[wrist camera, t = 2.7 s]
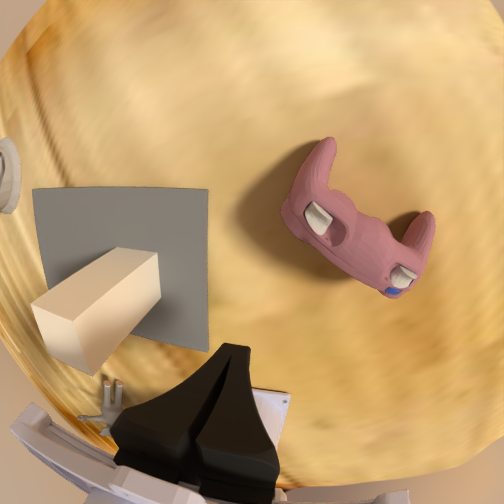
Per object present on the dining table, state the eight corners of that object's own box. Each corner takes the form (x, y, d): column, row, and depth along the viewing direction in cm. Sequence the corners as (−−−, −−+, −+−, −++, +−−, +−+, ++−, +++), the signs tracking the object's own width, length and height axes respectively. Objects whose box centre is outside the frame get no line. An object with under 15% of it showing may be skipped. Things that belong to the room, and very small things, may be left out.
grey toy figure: (158, 395, 28) (151, 444, 28) (143, 370, 33) (138, 417, 33) (77, 393, 22) (81, 445, 22) (73, 365, 27) (75, 416, 27)
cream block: (161, 297, 22) (92, 376, 13) (122, 289, 22) (50, 355, 13) (157, 252, 21) (72, 321, 11) (117, 247, 21) (30, 303, 12)
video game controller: (292, 177, 19) (257, 238, 14) (324, 126, 15) (299, 173, 11) (398, 249, 19) (396, 324, 15) (438, 213, 16) (453, 289, 11)
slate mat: (209, 349, 24) (207, 352, 23) (55, 306, 26) (53, 307, 26) (208, 189, 19) (206, 190, 18) (34, 188, 21) (31, 189, 21)
